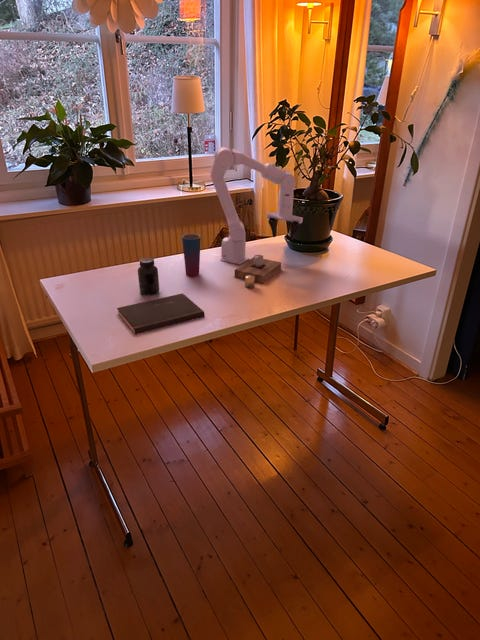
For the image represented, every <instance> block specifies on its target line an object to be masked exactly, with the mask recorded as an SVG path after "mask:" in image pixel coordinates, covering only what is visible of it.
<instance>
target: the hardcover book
mask: <svg viewBox="0 0 480 640" xmlns="http://www.w3.org/2000/svg"><path fill="white" fill-rule="evenodd" d="M116 310H117V312H118V314H119V315H120V316H121V318H122V319H123V320H124V322H125V323H126V324H127V325H128V326H130V327H129V328H130V329H131V330H132V332H133V333H134V332H135V333H134V335H138V334H137V333H139V334H142V332H143V333H145V332H146V331H147V332H150V331H153V330H157V329H158V330H159V329H162V328H165V327H169V326H173V325H178V324H181V323H185V321H186V322H189V320H190V321H193V320H192V319H194V320H197V318H198V319H201V318H205V312H204V310H203V309H202V308H200V307H199V305H197V304H196V303H195V302H194V301H193V300H191V298H189V297H188V296H187V295H186V294H184V293H178V294H177V293H176V294H173V295H170V296H165V297H160V298H155V299H151V300H146V301H143V302H138V303H132V304H129V305H125V306H120V307H117V308H116ZM147 332H146V333H147Z"/></svg>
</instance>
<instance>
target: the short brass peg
mask: <svg viewBox="0 0 480 640" xmlns="http://www.w3.org/2000/svg"><path fill="white" fill-rule="evenodd" d="M254 279H255V276H254V275H246V276H245V279H244V288H246V289H248V290H249V289H255V282H254Z"/></svg>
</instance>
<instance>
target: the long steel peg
mask: <svg viewBox="0 0 480 640" xmlns="http://www.w3.org/2000/svg"><path fill="white" fill-rule="evenodd" d="M253 257H254V268H258V269H262V268H263V259H264V255H261V254H254V256H253Z"/></svg>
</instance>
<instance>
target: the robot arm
mask: <svg viewBox="0 0 480 640" xmlns="http://www.w3.org/2000/svg"><path fill="white" fill-rule="evenodd" d="M233 164H234V166H240V165H243V166H245V167H248V168H250V169H252V170H254V171H256V172H259V173H260V175H261V178H262V179H265V180H267V181H269V182H271V183H273V184H275V185H279V192H278V200H277V201H278V202H277V203H278V204H277V212H267V214H266V219H268V221H267V222H268V224H269V227H270V229H271V234H272V238H275V237H277V235H278V231H277V230H278V223H279V220H280V221H284V222H291V223H290V241H293V240H294V239H295V237H296V236H295V235H296V233H297V231H298V229H299V227H300V225H301V224H302V223H303V219H304V217H301V216H297V215H293V205H294V194H295V193H294V190H295V186H296V185H297V184H296V183H297V182H296V178H295V177H294V175H293V174H292V173H290V171H288V170H286V169H285V168H284V169H282V168H280V167H278V166H277V165H276V164H275V163H274V162H271V163H270V162H267V163H262V162H260V161H259V160H256V159H255V158H252V157H251V156H249V155H247V154H246V153H244V152H241V151H239V150H237V149H234V148H231V147H229V146H225V145H224V146H221V147H219V148H218V149H217V151H216V152H215V154H214V157H213V162H212V166H211V170H210V178H211V181H212V184H213V187H214V189H215V192H216V195H217V197H218V199H219V203H220V206H221V208H222V210H223V213H224V215H225V216H224V217H225V218H226V222H227V225H228V230H229V231H228V232H229V235H228V237H227V236H226V237H224V238H223V239H222V241H221V248H220V249H221V252H220V253H221V255H220V257H221V258H220V261H222V262H228V263H231V264H236V265H242V264H244V263H245V262H247V261H248V260H250V257H249V256H246V245H247V243H246V242H247V241H246V240H247V238H246V234H247V233H246V230H245V225H244V223H243V222H242V221H241V220H240V218H239V216H238V213H237V210H236V208H235V207H236V206H235V204H234V202H233V199H232V196H231V194H230V190H229V188H228V186H227V185H228V184H227V183H226V180H225V176H226V175H225V174H226V173H227V171H228V170H229V169H230V168H231V166H232V165H233Z"/></svg>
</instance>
